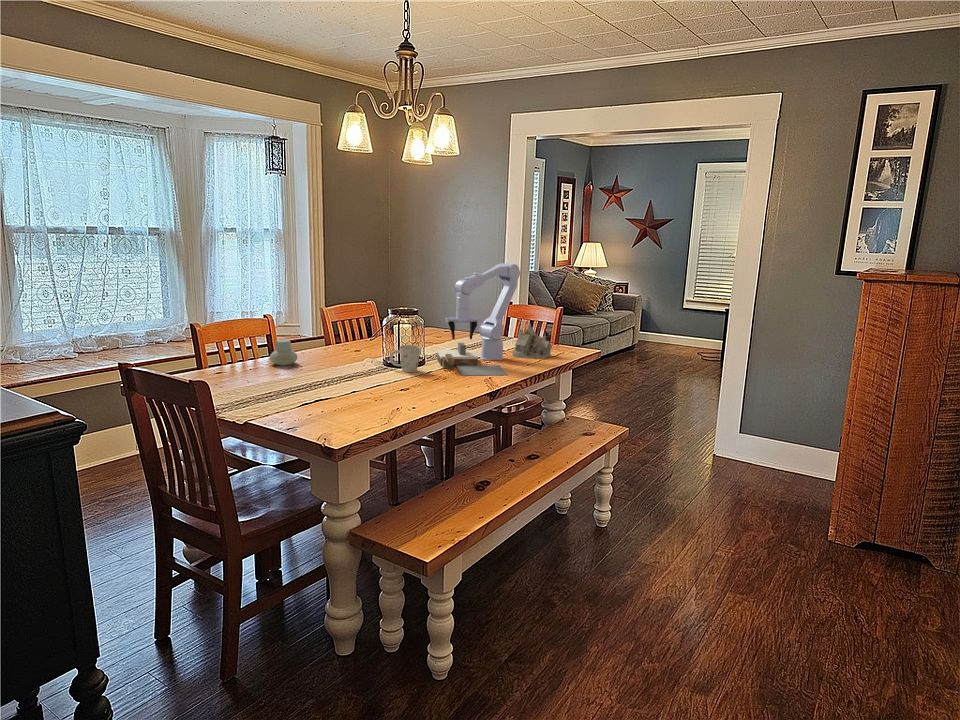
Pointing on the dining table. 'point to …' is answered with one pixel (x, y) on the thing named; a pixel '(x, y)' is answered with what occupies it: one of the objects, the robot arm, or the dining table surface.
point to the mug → (407, 357)
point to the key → (449, 358)
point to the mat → (480, 370)
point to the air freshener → (283, 353)
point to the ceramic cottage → (531, 345)
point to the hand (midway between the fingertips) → (462, 338)
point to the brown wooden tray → (456, 362)
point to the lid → (459, 353)
